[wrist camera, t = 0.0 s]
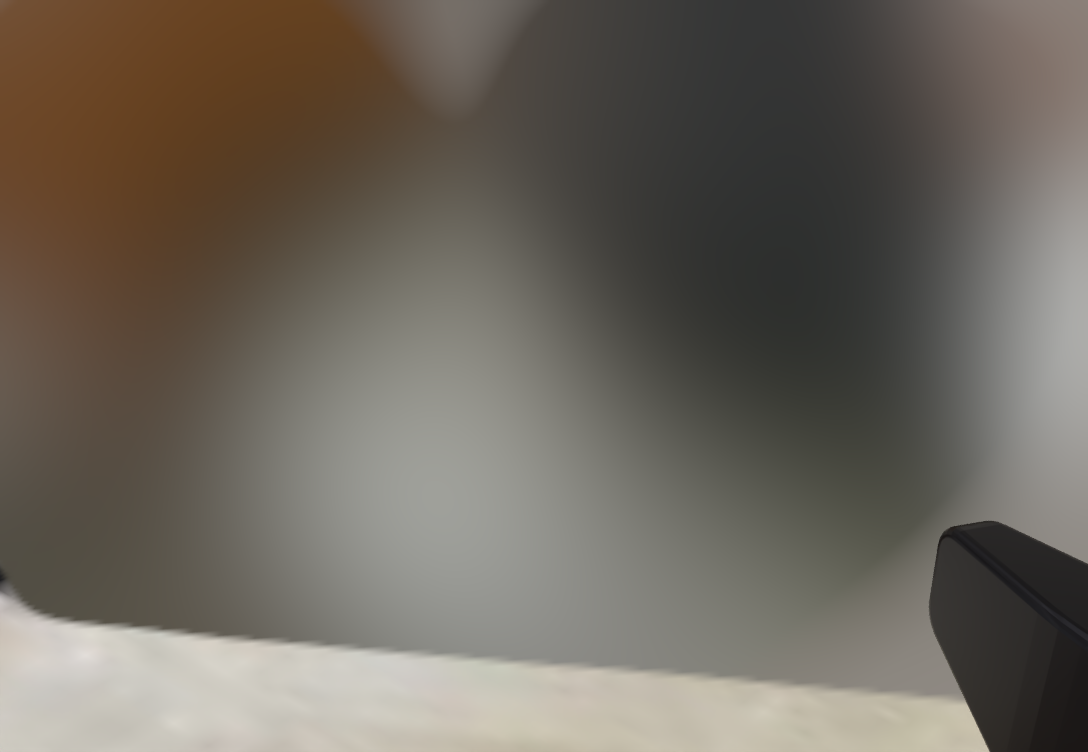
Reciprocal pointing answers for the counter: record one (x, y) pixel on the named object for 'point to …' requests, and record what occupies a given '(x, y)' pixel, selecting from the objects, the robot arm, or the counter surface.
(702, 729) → the counter surface
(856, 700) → the counter surface
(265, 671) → the counter surface
